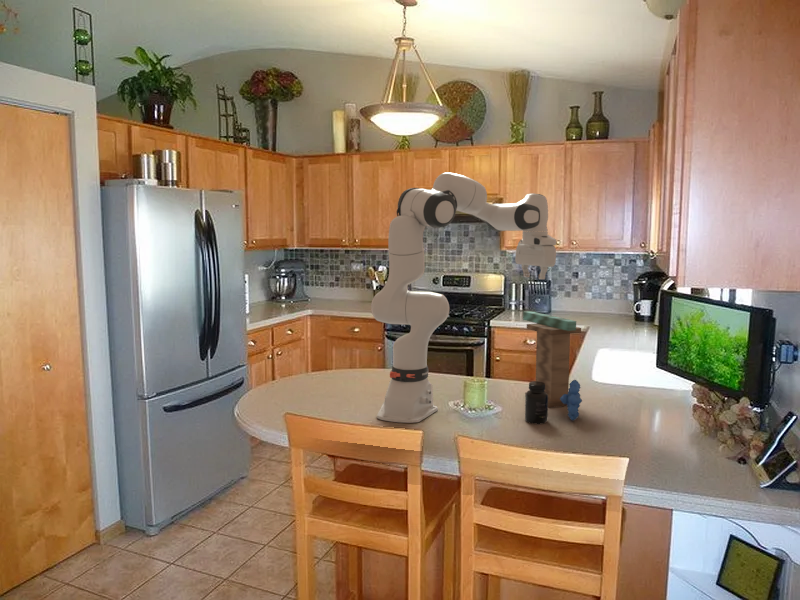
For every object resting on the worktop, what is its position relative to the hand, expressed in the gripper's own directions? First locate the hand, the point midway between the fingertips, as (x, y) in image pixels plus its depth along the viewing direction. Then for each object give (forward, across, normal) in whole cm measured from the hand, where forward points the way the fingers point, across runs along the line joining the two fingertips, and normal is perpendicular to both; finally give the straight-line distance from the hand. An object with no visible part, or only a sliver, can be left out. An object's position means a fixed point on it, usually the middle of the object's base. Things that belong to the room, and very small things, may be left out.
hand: (534, 278), depth 215 cm
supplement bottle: (+41, +32, -20) cm, 56 cm away
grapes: (+41, +34, -8) cm, 54 cm away
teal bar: (+15, +12, -2) cm, 20 cm away
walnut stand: (+41, +15, -2) cm, 44 cm away
